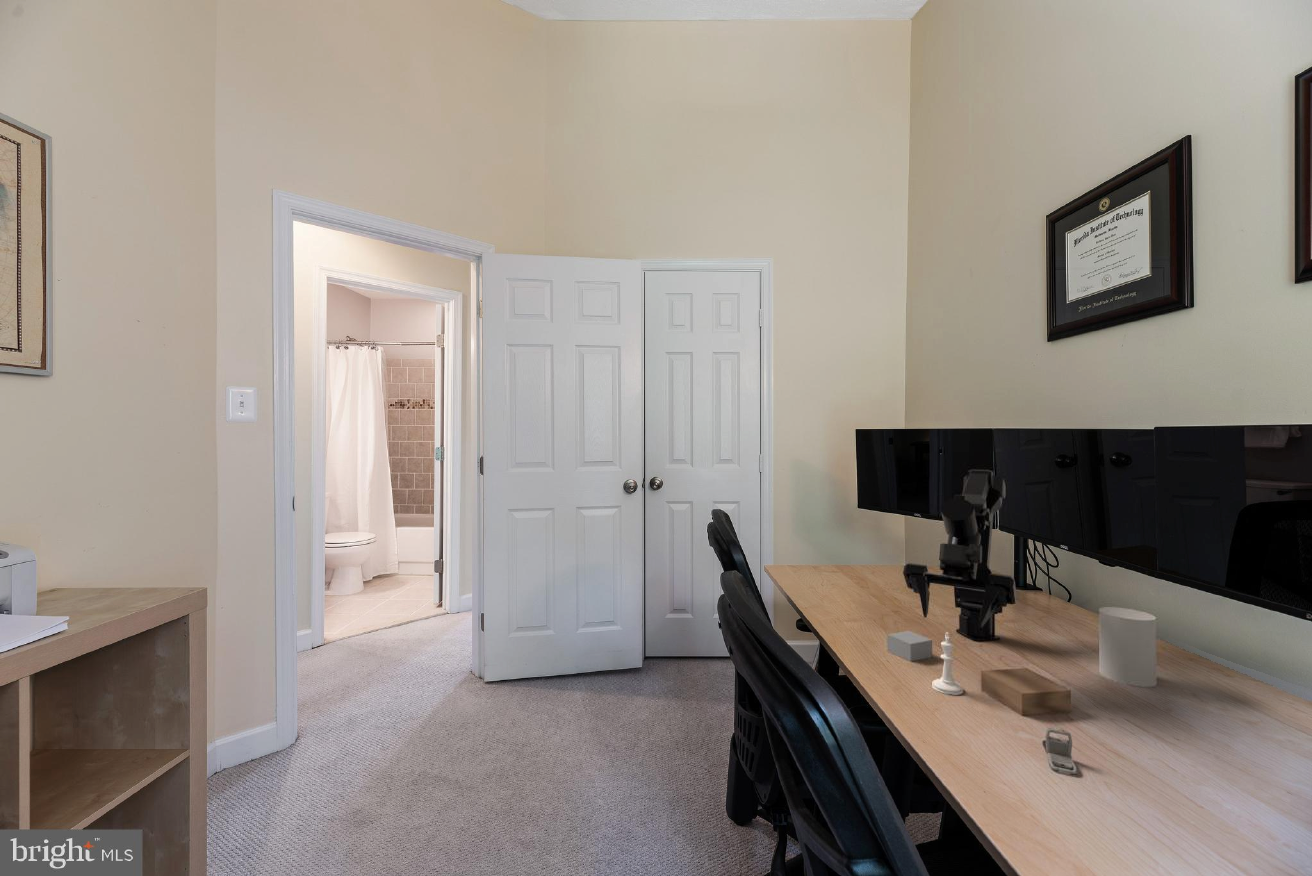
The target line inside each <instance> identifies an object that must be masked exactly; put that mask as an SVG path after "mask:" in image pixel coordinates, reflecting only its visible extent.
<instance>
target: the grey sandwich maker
mask: <svg viewBox="0 0 1312 876" xmlns="http://www.w3.org/2000/svg"><path fill="white" fill-rule="evenodd" d="M1051 733H1054V734H1059V735H1064V736H1067V737H1068V739H1063V738H1059V737H1054V736H1050V734H1051ZM1041 742H1042V744H1041V745H1042V747H1043V749H1045V750H1044V751H1045V753H1046V754H1047V761H1048V766H1049V769H1050V770H1051V771H1052V772H1054V773H1057V772H1058V774H1061V775H1065V774H1066V775H1065V776H1070V777H1078V776H1077V775H1078V770H1077V769H1078V768H1077V766H1076V764H1075V762H1074V761H1073V758H1072V749H1073V739H1072V735H1071V733H1070V732H1069V731H1065V729H1061V728H1056V727H1052V728H1047V729H1046V731H1045V740H1044V739H1043V740H1042V741H1041ZM1048 753H1049V754H1048Z"/></svg>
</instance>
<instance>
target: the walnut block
mask: <svg viewBox="0 0 1312 876" xmlns="http://www.w3.org/2000/svg"><path fill="white" fill-rule="evenodd" d="M980 673H981V674H980V676H981V677H980V682H981V683H980V684H981V685H980V686H981V687H980V688H981V689H980V690H982V691H981V692H983V693H984V692H985V693H984V694H986V695H988V696H989V697H991V698H992V699H994V700H996V699H997V700H996V701H998V702H999V701H1000V702H999V703H1001V704H1002V705H1005V706H1006V707H1007V706H1008V707H1007V708H1009V709H1010V710H1012V711H1014V712H1016V713H1017V714H1019V715H1020V716H1032V715H1033V716H1034V715H1044V714H1055V713H1056V714H1061V713H1071V712H1072V690H1071V689H1069V688H1067V687H1065V686H1063V685H1062V684H1059V683H1057V682H1055V681H1053V680H1051V679H1050V678H1047V677H1045V676H1043V675H1041V674H1039V673H1037V672H1035V671H1034V670H1031V669H1029V668H1027V667H1026V668H1025V667H1023V668H1008V669H1007V668H1006V669H1005V668H1003V669H990V670H987V669H986V670H981V671H980Z"/></svg>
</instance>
